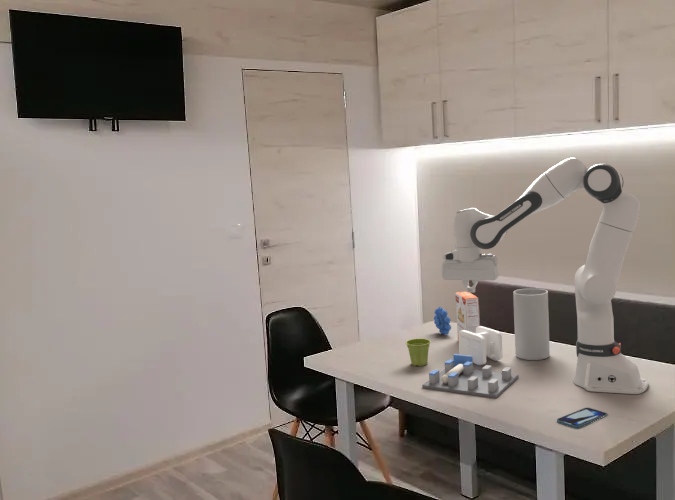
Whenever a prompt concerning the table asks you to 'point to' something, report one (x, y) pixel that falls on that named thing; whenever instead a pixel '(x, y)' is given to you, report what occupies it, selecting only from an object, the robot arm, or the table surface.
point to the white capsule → (456, 369)
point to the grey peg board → (471, 378)
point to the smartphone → (581, 417)
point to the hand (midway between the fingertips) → (470, 292)
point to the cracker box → (467, 312)
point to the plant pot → (418, 351)
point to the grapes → (442, 321)
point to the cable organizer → (481, 344)
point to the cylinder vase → (531, 324)
